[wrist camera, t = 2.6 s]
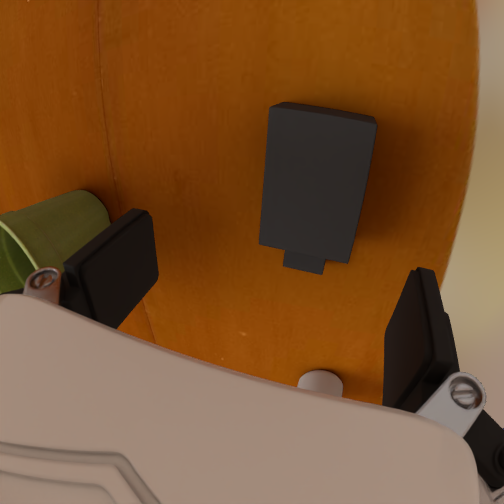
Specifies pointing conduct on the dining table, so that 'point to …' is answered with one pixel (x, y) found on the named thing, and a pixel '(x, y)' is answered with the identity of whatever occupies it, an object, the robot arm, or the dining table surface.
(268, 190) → the pad
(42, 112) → the dining table surface
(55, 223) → the plant pot
